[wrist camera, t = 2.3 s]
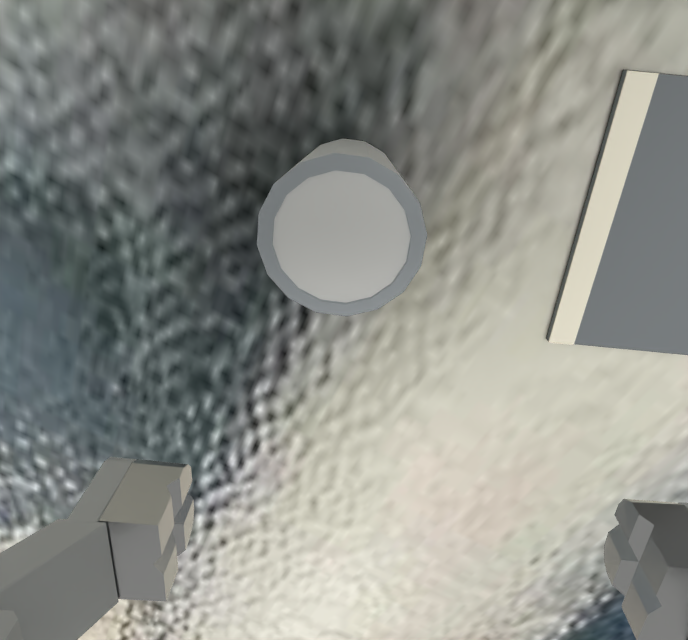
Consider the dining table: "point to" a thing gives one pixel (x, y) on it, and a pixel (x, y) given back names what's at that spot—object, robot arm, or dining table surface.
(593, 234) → the mat
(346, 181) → the shot glass
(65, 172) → the dining table surface
